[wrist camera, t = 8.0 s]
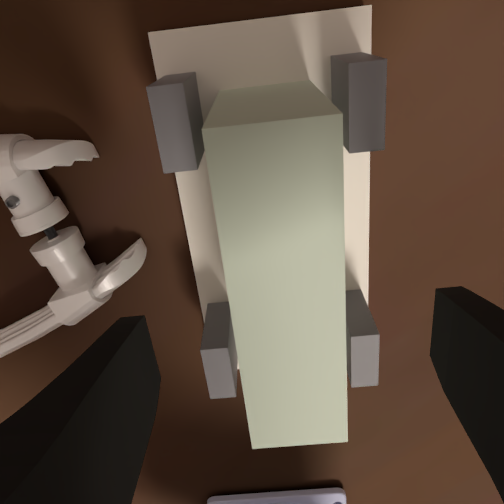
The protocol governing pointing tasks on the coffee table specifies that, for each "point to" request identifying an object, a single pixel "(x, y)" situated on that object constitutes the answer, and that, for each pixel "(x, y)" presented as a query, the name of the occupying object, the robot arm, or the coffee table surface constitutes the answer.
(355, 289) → the plate with corner feet
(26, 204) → the door handle
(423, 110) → the coffee table surface
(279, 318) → the long rectangular block
